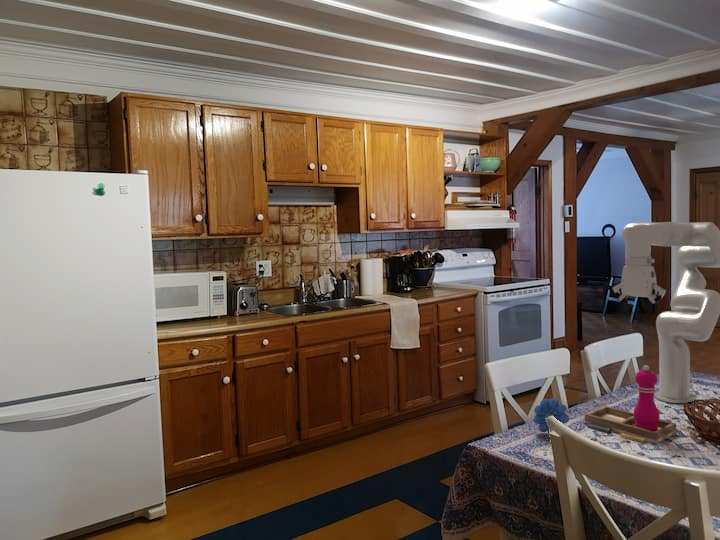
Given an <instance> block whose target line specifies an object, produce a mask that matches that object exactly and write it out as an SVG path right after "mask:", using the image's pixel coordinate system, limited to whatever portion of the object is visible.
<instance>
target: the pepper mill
mask: <svg viewBox="0 0 720 540" xmlns="http://www.w3.org/2000/svg"><path fill="white" fill-rule="evenodd" d="M634 380H635V382H636V384H637V386H636V390H637V391H638V400H637V402H636V405H635V406H634V409H633V412H632V413H633V416H634V418H635V419H636V420H637V421H636V422H635V427H639V428H642V429H646V430H650V431H653V432H655V431H657V430H658V424H657V423H656V422H657V421H658V420H659V419H661V416H660V411H659V409H658V407H657V405H656V403H655V400H654V399H655V393H656V386H655V385H657V382H658V377H657V374H656V373H655V372H654V371H652V370H650V366H649V365H646V364H645V365H643V366H642V369H640V370H638V371H637V372H636V374H635V375H634Z"/></svg>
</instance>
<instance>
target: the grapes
mask: <svg viewBox="0 0 720 540" xmlns="http://www.w3.org/2000/svg"><path fill="white" fill-rule="evenodd" d="M533 412H534V414H535V416H534V417H533V422H534V423H535V425H538V431H540V432H541V433H543V432H544V433H547V434H548V433H549V427H548V425H547V422H546V421H545V420H546V419H545V418H547V417H548V416H551V415H553V416H554V417H555V418H556V419H557V420H559V421H560V422H562V423H563V424H564V425H565V426H566V424H567V423H568V422H569V421H570V416H569V415H568V414H567V413H566V412H567V406H566V405H565V404H563V403H560V402H559V400H558V399H557V398H555V397H553V398H551V399H550V400H549V399H548V398H543V399H541V400H540V403H539V405H538V404H537V405H536V406H535V407H534V410H533Z"/></svg>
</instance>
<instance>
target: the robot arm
mask: <svg viewBox="0 0 720 540" xmlns="http://www.w3.org/2000/svg"><path fill="white" fill-rule="evenodd" d="M621 233H622V234H621V236H622V239H623V242H624V257H625V258H624V260H625V261H624V262H625V263H624V264H625V265H624V266H623V268H622V273H621V280H620V283H618V284H616V285H614V286H612V290H613V292H614V295H615V297H616V298H617V299H618V301H620V303H619V305H620V306H619V307H620V308H619V309H620V313H622V314H623V313H627V312H628V311H629V301H628V299H627V298H628V297H635V298H636V297H637V298H647V299H648V300H649V301H650V302H651V303H649V316H656V315H657V314H658V312H659V310H658V309H659V308H658V305H659V304H658V303H660V302H661V300H662V299H664V296H665V295H666V292H667V290H666V289H664V288H663V287H662V286H659V285H658V284H657V275H656V271H655V267H654V266H653V265H652V264H654V263H655V258H652V256H651V253H652V252H651V250H652V248H651V247H652V246H655V247H656V246H657V247H679V248H678V250H677V252H676V259H677V260H676V261H677V266H678V269H679V275H680V276H679V277H680V278H679V281H678V283H677V286H676V288H675V290H674V292H673V294H672V296H671V300H670V308H671V310H670V311H669V310H667V311H662V312H661V313H659V314H658V316H657V317H656V318H655V319H656V320H655V326H656V327H655V328H656V332H657V337H658V346H659V347H658V349H659V350H658V352H659V354H658V355H659V356H658V357H659V359H658V360H659V370H658V371H659V375H658V376H659V390H658V391H655V392H654V398H655V399H657V400H659V401H662V402H666V403H671V404H689V403H688V402H691V403H692V401H693V402H694V401H696V398H695V397H696V396H694V395H693V394H692V393H691V391H690V390H692V389H693V388H694V386H693V384H692V383H691V380H690V375H691V374H690V373H691V372H690V370H691V369H690V366H691V365H690V364H691V363H690V362H691V361H690V360H691V359H690V357H691V356H690V355H691V354H690V348H689V346H688V344H687V343H686V341H692V342H693V341H694V342H705V341H708V340H709V339H710V337H712V333H713V332H714V329H715V327H716V324H717V322H718V319H719V317H720V293H719V292H718V291H716V290H713V289H706V286H707V281H706V279H705V276H704V275H703V273H701V271H700V270H699V269H698V268H714V269H716V268H717V269H720V228H718V226H717V225H716V224H715V223H713V222H711V221H708V222H707V221H705V222H703V221H702V222H701V221H700V222H677V221H676V222H675V221H662V222H633V223H632V222H631V223H627V224H626V225H625V226H624V227H623V229H622V232H621ZM620 290H621V291H620ZM685 340H686V341H685Z"/></svg>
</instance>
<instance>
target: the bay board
mask: <svg viewBox="0 0 720 540" xmlns="http://www.w3.org/2000/svg"><path fill="white" fill-rule="evenodd" d="M633 413H634V412H631V411H627V410H622V409H619V408H615V407H610V406H607V405H605V406H602V407H599V408H597V409H595V410H592V411H590V412H589V411H588V412H587V413H584V424H586V427H587V428H589V429H592V430H593V429H594V430H596V431H599V432H603V433H606V434H609V433H611V432H614V433H617V432H618V433H617V434H619V437H620V438H623V439H628V440H630V441H634V442H637V443H640V444H644V443H645V444H646V442H649V443H653V444H657V443H660V442H662V441H664V440H665V439H667V438H670V437H671V436H673V435H675V434H677V423H675V422H672V421H667V420H664V419H661V418H659V420H658V421H657V422H656V423H657V424H658V430H657V431H655V432H653V431H650V430H646V429H642V428H639V427H635V422H636V421H637V420H636V419H635V418H634V416H633Z"/></svg>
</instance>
